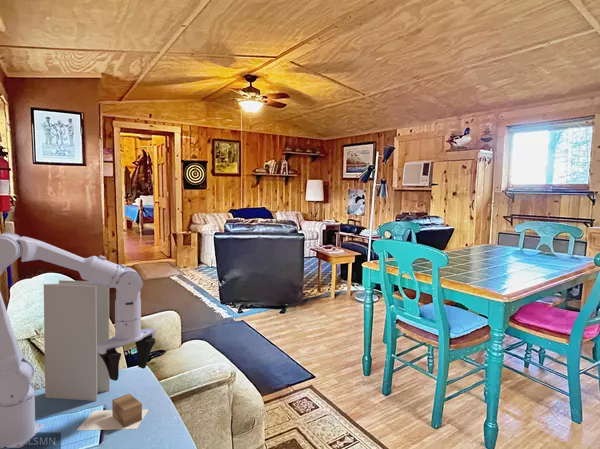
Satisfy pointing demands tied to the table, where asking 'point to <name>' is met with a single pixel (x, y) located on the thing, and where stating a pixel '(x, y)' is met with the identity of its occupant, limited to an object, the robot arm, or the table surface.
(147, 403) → the table surface
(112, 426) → the beige board
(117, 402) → the walnut block
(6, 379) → the robot arm
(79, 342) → the tall grey box
